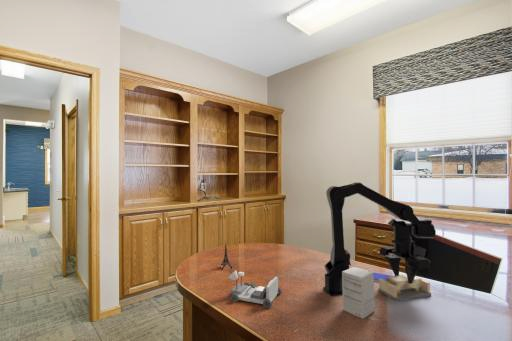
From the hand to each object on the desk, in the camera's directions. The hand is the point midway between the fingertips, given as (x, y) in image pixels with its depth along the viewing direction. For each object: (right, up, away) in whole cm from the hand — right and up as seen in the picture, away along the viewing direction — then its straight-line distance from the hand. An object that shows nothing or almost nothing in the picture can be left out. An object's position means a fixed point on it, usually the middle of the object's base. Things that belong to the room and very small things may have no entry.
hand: (403, 279), depth 99 cm
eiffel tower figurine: (-69, -7, +30) cm, 76 cm away
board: (0, -2, 0) cm, 2 cm away
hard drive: (0, -6, +12) cm, 14 cm away
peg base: (0, -5, 0) cm, 5 cm away
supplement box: (-22, -5, -13) cm, 26 cm away
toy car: (-56, -6, -2) cm, 56 cm away
